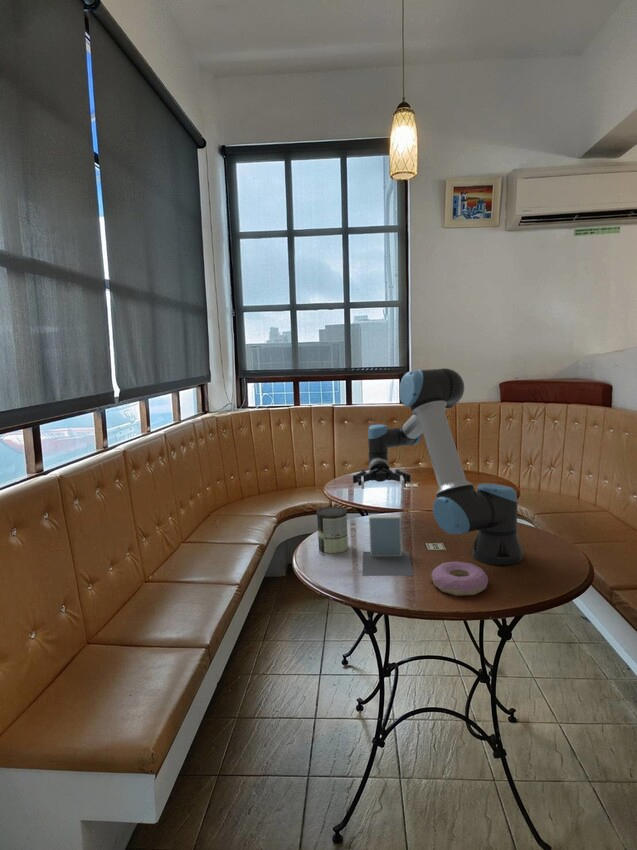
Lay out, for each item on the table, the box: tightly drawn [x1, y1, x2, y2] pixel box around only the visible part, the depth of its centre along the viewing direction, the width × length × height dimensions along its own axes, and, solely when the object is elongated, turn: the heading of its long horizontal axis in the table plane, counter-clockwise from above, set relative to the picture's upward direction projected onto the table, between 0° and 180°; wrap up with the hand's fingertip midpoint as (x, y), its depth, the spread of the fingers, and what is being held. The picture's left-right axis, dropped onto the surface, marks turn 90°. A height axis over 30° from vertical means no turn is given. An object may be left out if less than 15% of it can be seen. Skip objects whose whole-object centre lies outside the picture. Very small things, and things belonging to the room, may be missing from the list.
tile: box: [368, 514, 403, 556], centre depth 164 cm, size 10×3×13 cm, turn 84°
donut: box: [430, 561, 489, 597], centre depth 142 cm, size 16×15×5 cm
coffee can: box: [316, 506, 349, 556], centre depth 172 cm, size 10×10×14 cm
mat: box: [361, 550, 415, 577], centre depth 158 cm, size 15×19×1 cm
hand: (382, 484), depth 171 cm, fingers open, 13 cm apart
